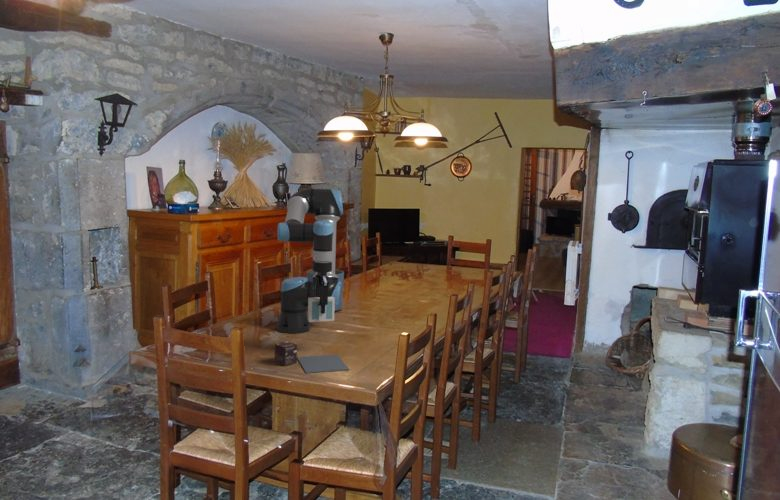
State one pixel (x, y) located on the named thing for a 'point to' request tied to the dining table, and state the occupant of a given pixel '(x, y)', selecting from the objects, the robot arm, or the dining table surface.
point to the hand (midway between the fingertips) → (321, 319)
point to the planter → (340, 278)
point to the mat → (322, 363)
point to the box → (285, 353)
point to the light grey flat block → (314, 309)
